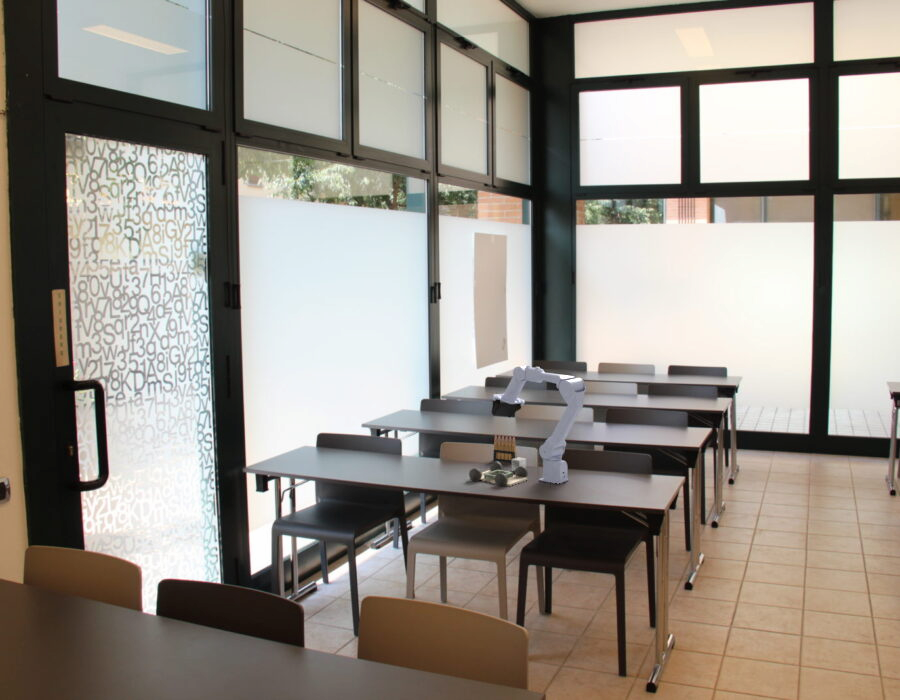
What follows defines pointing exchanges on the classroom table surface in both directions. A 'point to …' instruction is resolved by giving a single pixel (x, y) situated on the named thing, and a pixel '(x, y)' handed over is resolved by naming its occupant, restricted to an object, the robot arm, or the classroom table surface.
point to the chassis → (500, 475)
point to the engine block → (518, 463)
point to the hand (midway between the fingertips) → (500, 414)
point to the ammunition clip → (504, 449)
